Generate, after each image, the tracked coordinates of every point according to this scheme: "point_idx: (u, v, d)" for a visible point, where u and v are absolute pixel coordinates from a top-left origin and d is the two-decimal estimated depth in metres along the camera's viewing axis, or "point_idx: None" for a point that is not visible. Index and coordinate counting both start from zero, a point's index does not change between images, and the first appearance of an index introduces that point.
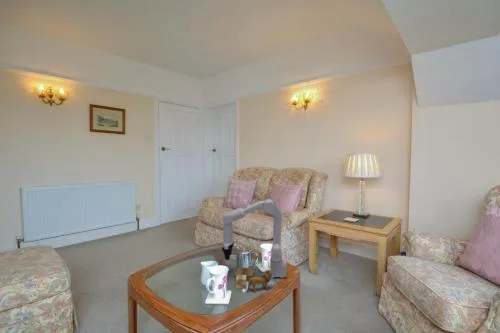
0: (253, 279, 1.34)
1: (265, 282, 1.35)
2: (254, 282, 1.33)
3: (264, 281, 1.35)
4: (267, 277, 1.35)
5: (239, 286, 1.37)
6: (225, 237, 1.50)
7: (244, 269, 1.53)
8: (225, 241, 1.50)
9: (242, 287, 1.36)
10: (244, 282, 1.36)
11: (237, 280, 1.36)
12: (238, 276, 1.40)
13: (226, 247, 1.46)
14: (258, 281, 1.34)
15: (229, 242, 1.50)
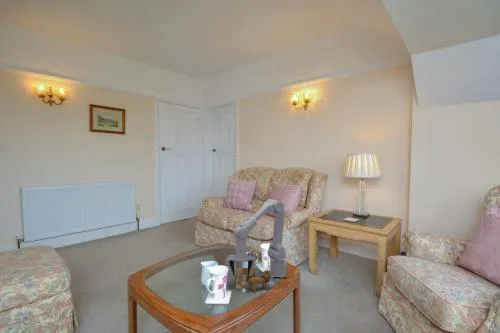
0: (252, 279, 1.34)
1: (264, 282, 1.35)
2: (253, 282, 1.33)
3: (263, 281, 1.35)
4: (266, 277, 1.35)
5: (239, 286, 1.37)
6: None
7: (244, 269, 1.53)
8: None
9: (242, 287, 1.36)
10: (244, 282, 1.36)
11: (237, 280, 1.36)
12: (238, 276, 1.40)
13: (227, 259, 1.38)
14: (257, 281, 1.34)
15: (235, 257, 1.37)
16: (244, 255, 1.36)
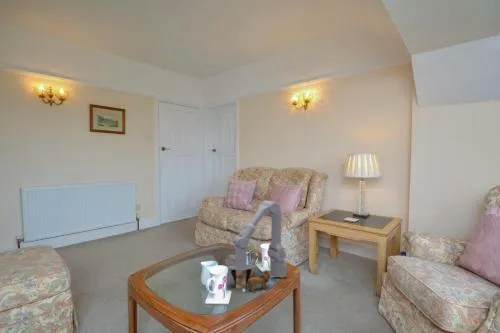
0: (252, 279, 1.33)
1: (264, 282, 1.35)
2: (253, 282, 1.33)
3: (263, 281, 1.34)
4: (266, 277, 1.35)
5: (239, 286, 1.37)
6: None
7: None
8: None
9: (242, 287, 1.36)
10: (244, 282, 1.36)
11: (237, 280, 1.36)
12: (238, 276, 1.40)
13: None
14: (257, 281, 1.34)
15: (236, 266, 1.37)
16: (244, 264, 1.37)
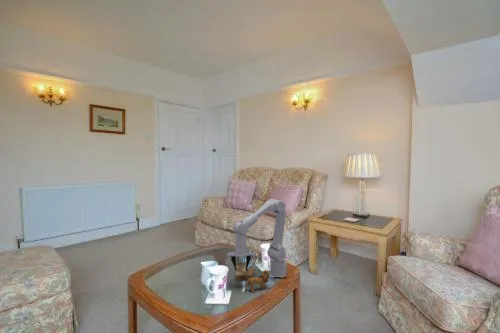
0: (251, 279, 1.33)
1: (263, 282, 1.34)
2: (252, 282, 1.33)
3: (262, 281, 1.34)
4: (265, 277, 1.35)
5: (239, 272, 1.36)
6: None
7: None
8: None
9: (242, 274, 1.36)
10: (244, 268, 1.36)
11: (237, 267, 1.36)
12: (238, 263, 1.39)
13: (227, 255, 1.38)
14: (256, 281, 1.34)
15: (235, 253, 1.37)
16: (244, 250, 1.36)
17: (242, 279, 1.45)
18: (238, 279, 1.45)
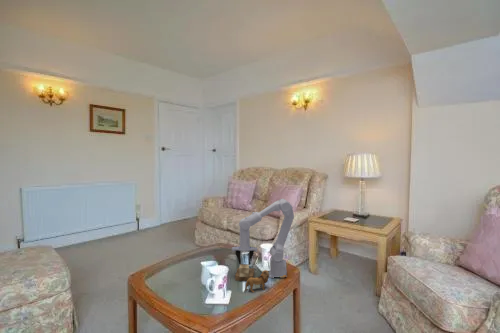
0: (250, 280, 1.33)
1: (262, 282, 1.34)
2: (251, 283, 1.33)
3: (261, 281, 1.34)
4: (264, 277, 1.35)
5: (242, 274, 1.44)
6: None
7: None
8: None
9: (245, 275, 1.44)
10: (247, 270, 1.44)
11: (240, 268, 1.44)
12: (241, 265, 1.47)
13: (232, 249, 1.50)
14: (255, 281, 1.33)
15: (239, 247, 1.48)
16: (247, 245, 1.47)
17: (242, 279, 1.45)
18: (238, 279, 1.45)
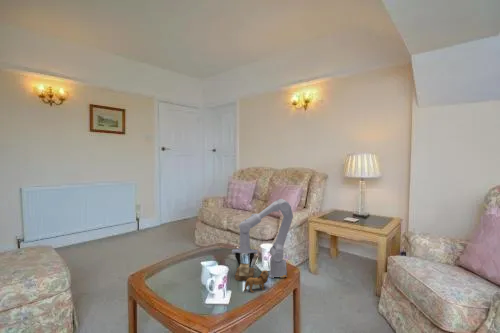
0: (250, 280, 1.33)
1: (262, 283, 1.34)
2: (251, 283, 1.33)
3: (261, 282, 1.34)
4: (264, 277, 1.35)
5: (242, 273, 1.44)
6: None
7: None
8: None
9: (245, 275, 1.44)
10: (247, 270, 1.44)
11: (240, 268, 1.44)
12: (241, 264, 1.47)
13: (232, 251, 1.50)
14: (255, 282, 1.33)
15: (239, 250, 1.48)
16: (247, 248, 1.47)
17: (242, 279, 1.46)
18: (238, 279, 1.46)
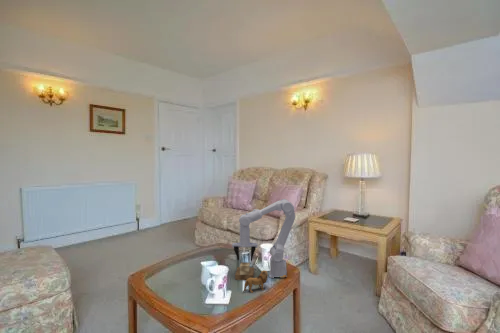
0: (249, 280, 1.33)
1: (261, 283, 1.34)
2: (250, 283, 1.32)
3: (260, 282, 1.34)
4: (263, 278, 1.34)
5: (243, 272, 1.46)
6: None
7: None
8: None
9: (245, 273, 1.46)
10: (247, 268, 1.45)
11: (241, 266, 1.46)
12: (242, 263, 1.49)
13: (232, 245, 1.50)
14: (254, 282, 1.33)
15: (240, 243, 1.48)
16: (247, 241, 1.47)
17: (242, 278, 1.46)
18: (238, 278, 1.46)
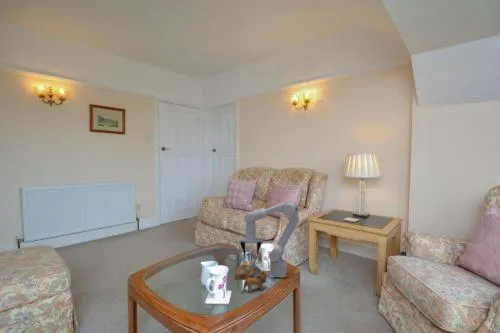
0: (248, 280, 1.33)
1: (260, 283, 1.34)
2: (249, 283, 1.32)
3: (259, 282, 1.34)
4: (262, 278, 1.34)
5: (243, 271, 1.47)
6: None
7: None
8: None
9: (246, 272, 1.47)
10: (248, 267, 1.47)
11: (241, 265, 1.47)
12: (242, 262, 1.51)
13: None
14: (253, 282, 1.33)
15: (246, 239, 1.56)
16: (253, 237, 1.55)
17: (242, 278, 1.46)
18: (238, 278, 1.47)
